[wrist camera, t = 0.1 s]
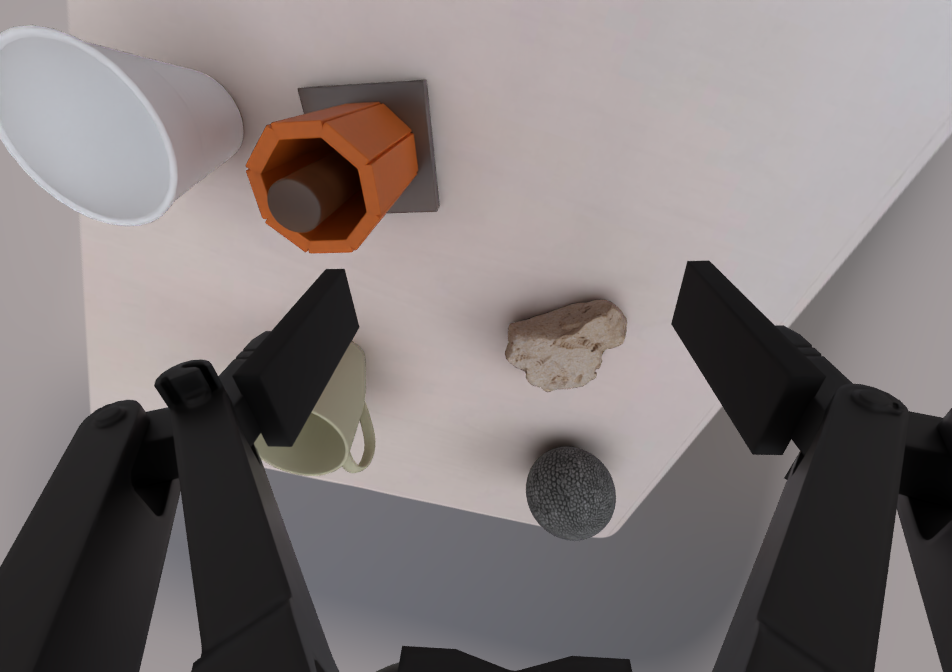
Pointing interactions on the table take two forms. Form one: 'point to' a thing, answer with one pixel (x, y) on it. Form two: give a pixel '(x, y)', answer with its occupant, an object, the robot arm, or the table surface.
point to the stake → (336, 180)
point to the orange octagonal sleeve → (360, 142)
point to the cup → (110, 124)
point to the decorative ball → (570, 493)
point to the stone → (565, 343)
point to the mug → (330, 426)
